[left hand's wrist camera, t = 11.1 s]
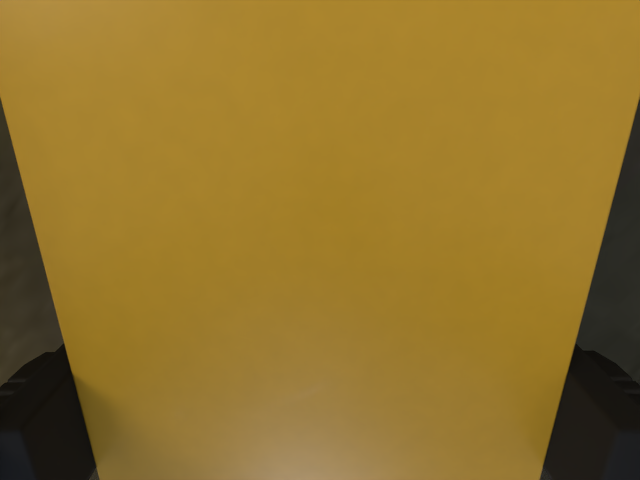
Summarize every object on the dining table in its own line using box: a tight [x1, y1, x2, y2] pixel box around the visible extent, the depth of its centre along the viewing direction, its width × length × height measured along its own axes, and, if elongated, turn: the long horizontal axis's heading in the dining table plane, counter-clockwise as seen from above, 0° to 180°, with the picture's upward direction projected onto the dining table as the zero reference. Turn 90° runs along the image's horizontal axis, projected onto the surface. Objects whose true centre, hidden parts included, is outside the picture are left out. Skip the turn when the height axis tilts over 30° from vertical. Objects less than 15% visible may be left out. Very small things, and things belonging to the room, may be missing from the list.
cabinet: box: [0, 0, 640, 480], centre depth 12 cm, size 20×10×10 cm, turn 0°
